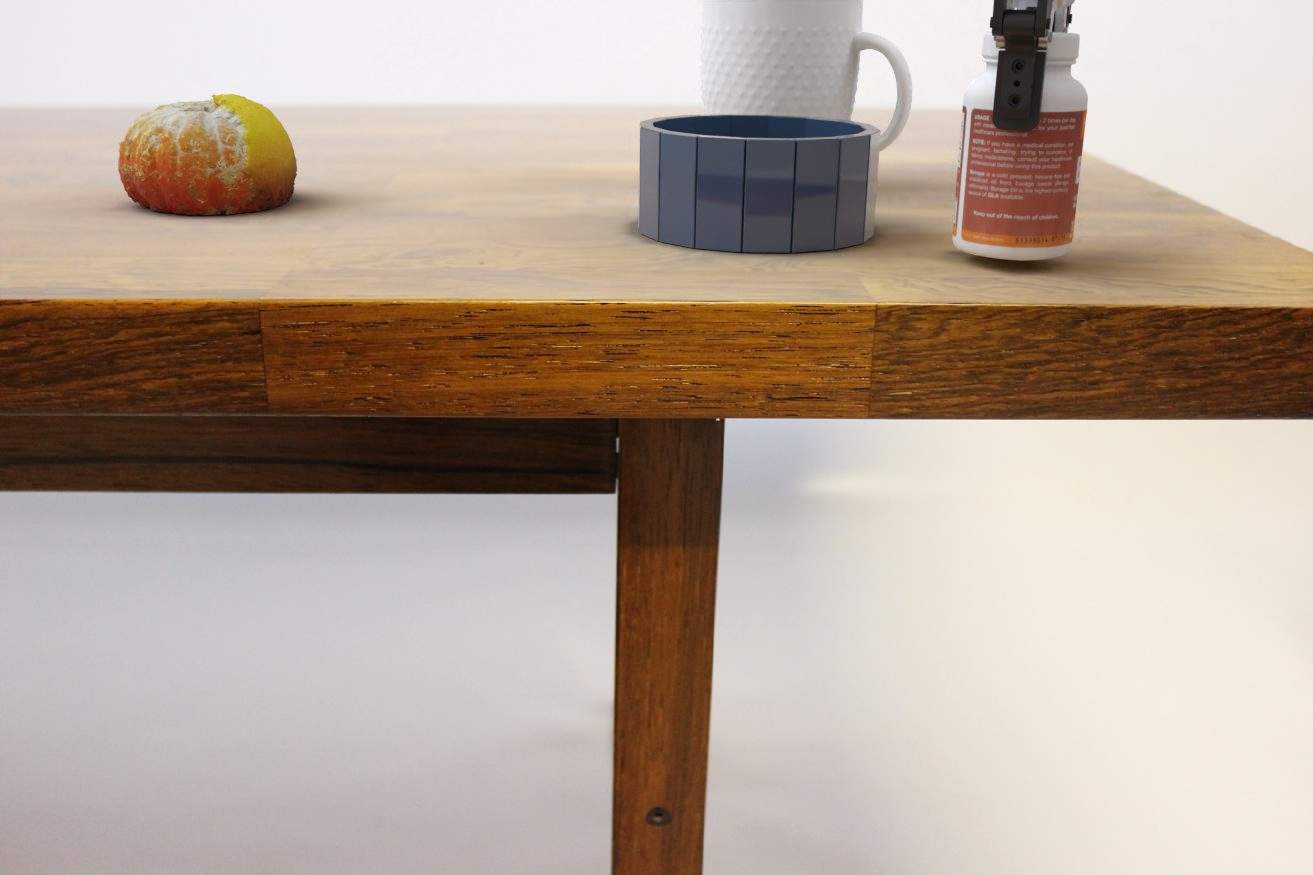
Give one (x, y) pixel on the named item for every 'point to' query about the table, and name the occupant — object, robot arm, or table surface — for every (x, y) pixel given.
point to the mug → (792, 59)
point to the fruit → (208, 158)
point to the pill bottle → (1021, 164)
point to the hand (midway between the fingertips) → (1023, 122)
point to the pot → (757, 182)
